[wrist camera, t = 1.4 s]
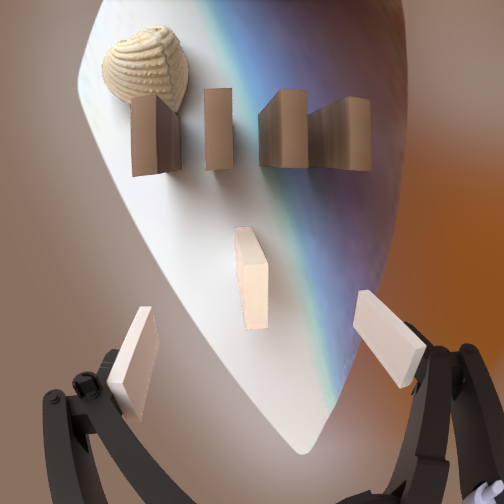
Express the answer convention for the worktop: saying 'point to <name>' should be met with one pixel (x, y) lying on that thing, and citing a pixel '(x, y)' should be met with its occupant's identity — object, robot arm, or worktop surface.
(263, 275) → the domino
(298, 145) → the domino
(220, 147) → the domino
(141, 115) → the domino
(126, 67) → the seashell
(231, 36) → the worktop surface
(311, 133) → the domino
